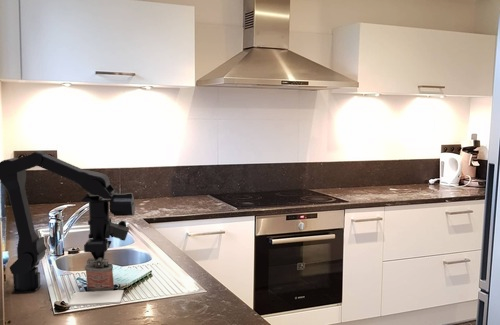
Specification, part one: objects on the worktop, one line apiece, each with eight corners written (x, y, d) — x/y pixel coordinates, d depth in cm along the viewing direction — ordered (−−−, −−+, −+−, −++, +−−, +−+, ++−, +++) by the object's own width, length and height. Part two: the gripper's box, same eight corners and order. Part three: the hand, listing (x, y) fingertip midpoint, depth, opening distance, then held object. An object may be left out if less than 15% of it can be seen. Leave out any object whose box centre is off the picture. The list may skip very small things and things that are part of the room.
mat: (67, 306, 133) (67, 304, 133) (74, 294, 142) (74, 292, 142) (120, 303, 135) (120, 301, 135) (123, 291, 144) (123, 289, 144)
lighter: (115, 284, 148) (113, 256, 144) (112, 291, 145) (110, 261, 141) (88, 284, 147) (85, 255, 144) (85, 291, 144) (82, 261, 141)
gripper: (124, 222, 137) (125, 275, 139) (129, 208, 155) (130, 256, 157) (82, 223, 135) (84, 277, 137) (93, 210, 153) (94, 258, 155)
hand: (100, 266), depth 146 cm, fingers closed
